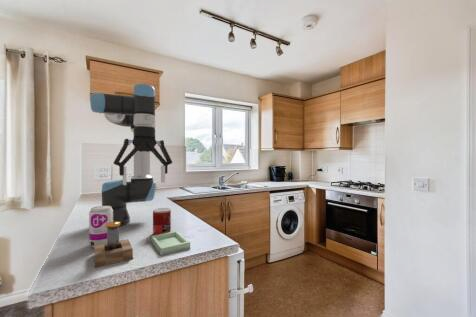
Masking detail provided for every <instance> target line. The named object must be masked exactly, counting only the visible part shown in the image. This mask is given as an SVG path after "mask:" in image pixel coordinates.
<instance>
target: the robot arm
mask: <svg viewBox="0 0 476 317" xmlns="http://www.w3.org/2000/svg"><path fill="white" fill-rule="evenodd" d="M132 95H133V96H132ZM132 95H122V94H121V95H119V94H112V93H104V92H92V93H91V94H90V98H89V100H90V109H91V111H92V112H93V113H97V114H98V113H99V114H103V115H104V117H105V119H106V120H107V122H110V123H112V124H114V125H116V126H121V127H128V128H129V127H130V131H131V132H132V133H133V137H132V139H129V138H125V139H124V140H123V145H122V147H121V148H120V150H119V152H118V154H117V155H116V157H115V159H114V161H113V165H115V166H118V168H119V172H118V173H119V176H120V177H121V176H122V178H121V179H116V180H115V179H114V180H109V181H105V182H103V183H102V184H101V206H111V208H112V209H113V221H120V226H119V227H121V226H124V225H127V224H129V223H130V222H131V217H130V213H129V211H128V209H127V204H128V203H142V202H144V203H145V202H151V201H153V200H154V198H155V193H156V184H157V182H156V180H154V177H153V176H152V175H151V153H152V154H154V156H155V157H156V159H157V160H158V161H159V162H160V164H162V165H160V182H161V183H166V174H168V166H169V165H172V164H173V160H172V158H171V156H170V155H169V152H168V151H167V148H166V146H165V140H156V90H155V87H154V86H153V85H150V84H145V83H136V84H135V85H133V92H132ZM131 144H132V145H133V149H132V150H131V151H130V152H129V153H128V154H127V155H126V156H125V157H124V158H123V156H124V154H125V152H126V150H127V148H128V147H129V146H130V145H131ZM156 145H157V146H158V147H159V148H160V151H161V153H162V154H160V153H159V151H158V150H157V149H156V148H155V147H156ZM162 155H163V156H162ZM132 157H133V175H132V176H131V178H130V181H127V166H126V164H127V162H129V160H131V159H132ZM163 157H164V158H165V159H164V158H163ZM122 158H123V159H122ZM121 159H122V160H121Z"/></svg>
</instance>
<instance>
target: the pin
mask: <svg viewBox="0 0 476 317" xmlns="http://www.w3.org/2000/svg"><path fill="white" fill-rule="evenodd" d="M106 227H107V251H108V250H113V249H118V248H119V241H120V227H121V226H120V221H112V222H108V223H106Z"/></svg>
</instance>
